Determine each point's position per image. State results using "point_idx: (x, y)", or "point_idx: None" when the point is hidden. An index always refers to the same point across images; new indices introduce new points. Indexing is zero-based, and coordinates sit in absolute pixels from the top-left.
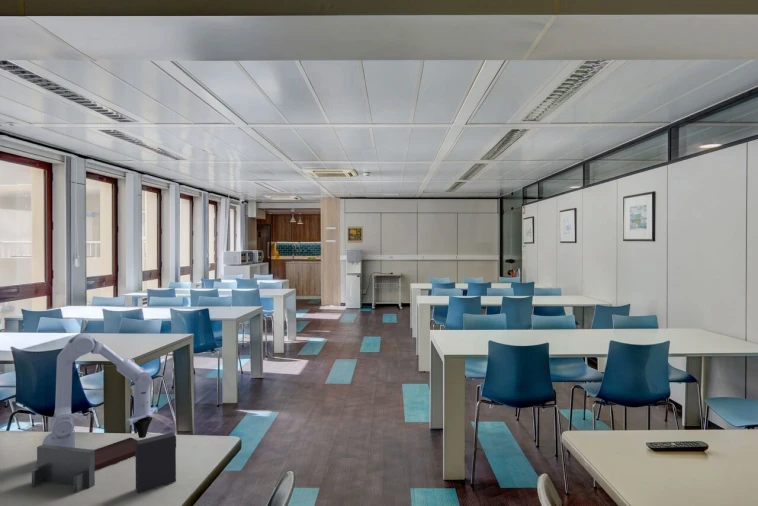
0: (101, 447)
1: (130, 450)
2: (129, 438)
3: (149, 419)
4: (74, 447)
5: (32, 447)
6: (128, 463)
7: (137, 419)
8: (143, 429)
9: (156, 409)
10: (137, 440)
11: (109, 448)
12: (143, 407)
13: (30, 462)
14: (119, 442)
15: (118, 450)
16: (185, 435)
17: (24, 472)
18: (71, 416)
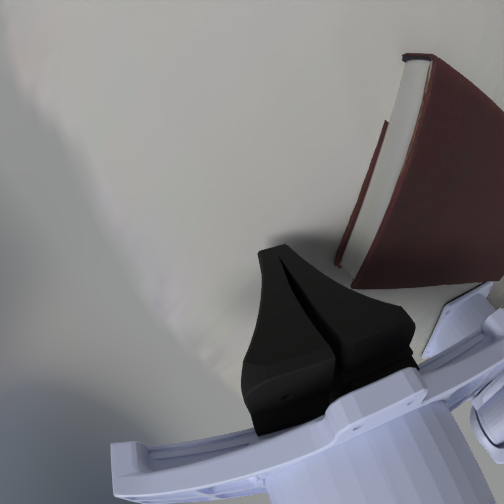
0: (458, 283)
1: (494, 117)
2: (370, 279)
3: (321, 355)
4: (476, 328)
5: None
6: (501, 64)
7: (481, 353)
8: (333, 282)
9: (128, 479)
10: (395, 200)
11: (478, 240)
12: (482, 494)
13: None
14: (425, 269)
15: (498, 178)
16: (18, 39)
17: (496, 305)
18: (486, 438)
